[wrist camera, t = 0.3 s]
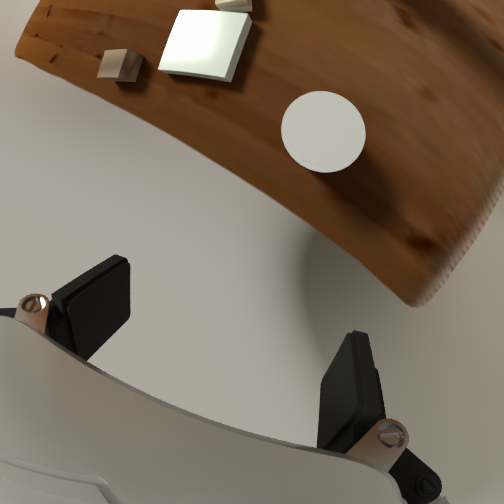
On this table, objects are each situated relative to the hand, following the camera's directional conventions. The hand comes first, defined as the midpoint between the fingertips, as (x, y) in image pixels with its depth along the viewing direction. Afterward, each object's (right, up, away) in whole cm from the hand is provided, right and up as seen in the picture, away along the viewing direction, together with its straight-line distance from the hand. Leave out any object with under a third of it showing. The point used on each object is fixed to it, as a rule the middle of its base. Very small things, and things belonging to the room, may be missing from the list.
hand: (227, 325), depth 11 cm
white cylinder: (+10, +18, +24) cm, 32 cm away
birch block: (-1, +41, +19) cm, 45 cm away
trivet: (-6, +34, +22) cm, 41 cm away
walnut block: (-20, +34, +25) cm, 47 cm away
